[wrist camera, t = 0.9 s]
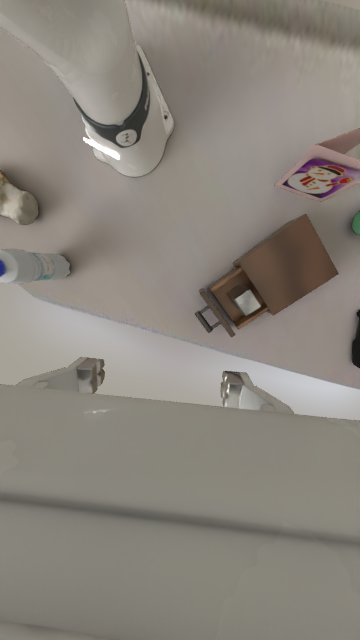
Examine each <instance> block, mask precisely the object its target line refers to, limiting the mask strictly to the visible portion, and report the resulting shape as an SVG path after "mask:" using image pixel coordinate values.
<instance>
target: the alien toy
mask: <svg viewBox="0 0 360 640" xmlns="http://www.w3.org/2000/svg"><path fill="white" fill-rule="evenodd" d="M352 229H353V231H354V232H355V233H356V234H357V235H359V236H360V211H359V212H358V213H357V214H356V216H355V217H354V219H353V222H352Z"/></svg>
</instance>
